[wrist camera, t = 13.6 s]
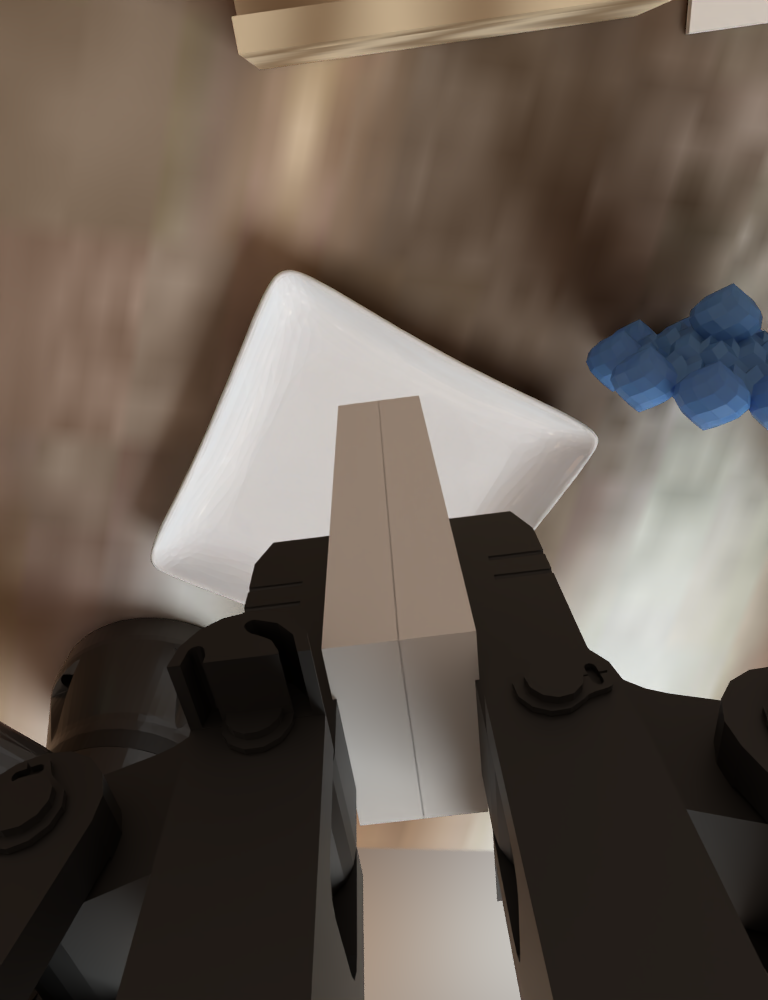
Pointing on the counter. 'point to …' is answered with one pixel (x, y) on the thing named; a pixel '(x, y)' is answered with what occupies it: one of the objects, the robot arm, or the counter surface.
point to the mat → (724, 14)
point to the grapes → (693, 362)
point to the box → (399, 24)
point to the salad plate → (313, 424)
